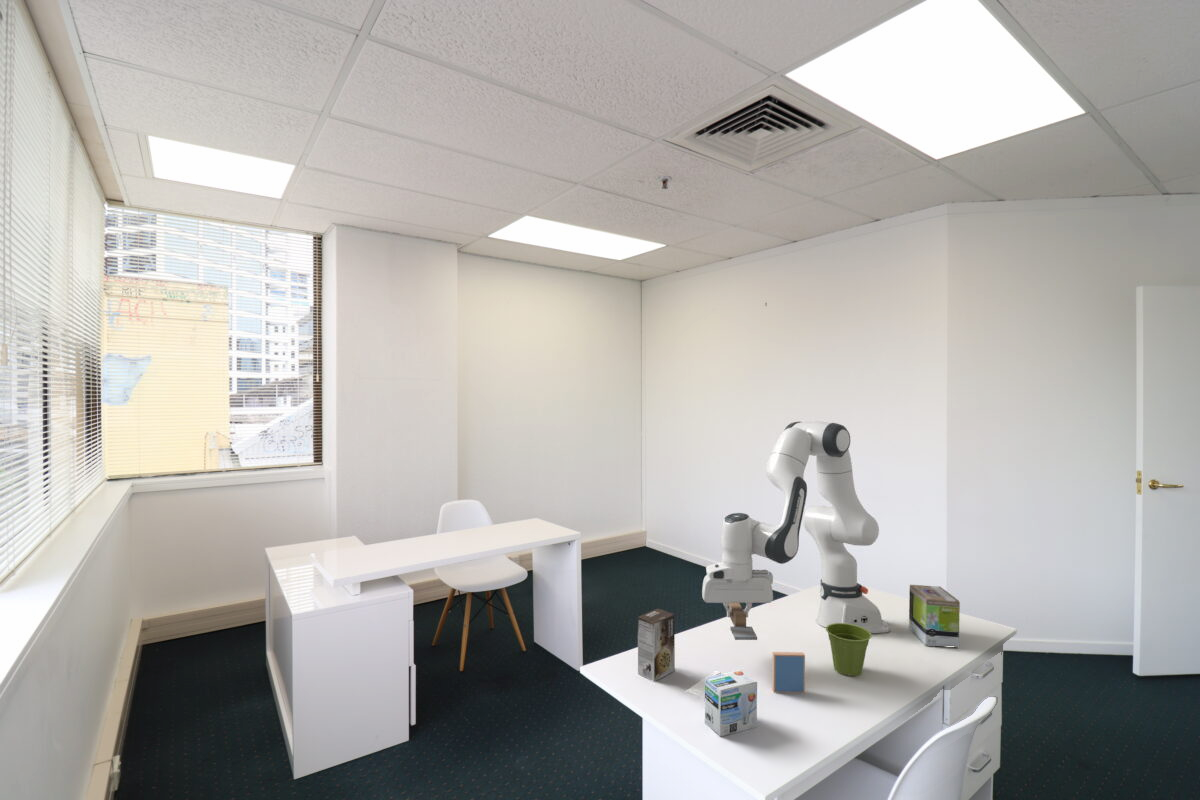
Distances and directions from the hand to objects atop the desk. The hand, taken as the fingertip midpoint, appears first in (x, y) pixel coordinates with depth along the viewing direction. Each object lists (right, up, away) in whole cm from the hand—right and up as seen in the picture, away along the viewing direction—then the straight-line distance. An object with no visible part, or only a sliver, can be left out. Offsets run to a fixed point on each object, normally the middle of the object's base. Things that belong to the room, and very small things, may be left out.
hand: (737, 616), depth 171 cm
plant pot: (+29, -13, -7) cm, 33 cm away
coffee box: (-25, -13, -8) cm, 29 cm away
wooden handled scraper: (0, -2, -3) cm, 4 cm away
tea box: (+66, -13, +15) cm, 69 cm away
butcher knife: (-11, -13, -15) cm, 23 cm away
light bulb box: (-10, -13, -34) cm, 37 cm away
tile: (+9, -13, -18) cm, 24 cm away
